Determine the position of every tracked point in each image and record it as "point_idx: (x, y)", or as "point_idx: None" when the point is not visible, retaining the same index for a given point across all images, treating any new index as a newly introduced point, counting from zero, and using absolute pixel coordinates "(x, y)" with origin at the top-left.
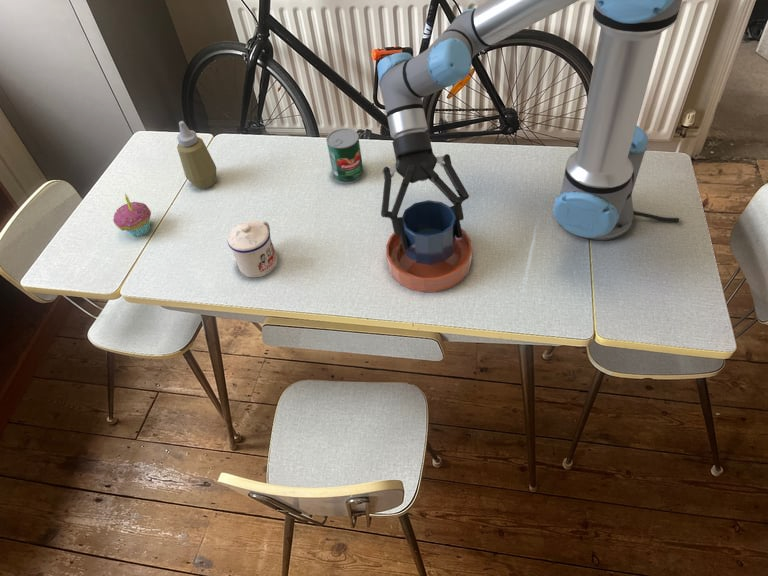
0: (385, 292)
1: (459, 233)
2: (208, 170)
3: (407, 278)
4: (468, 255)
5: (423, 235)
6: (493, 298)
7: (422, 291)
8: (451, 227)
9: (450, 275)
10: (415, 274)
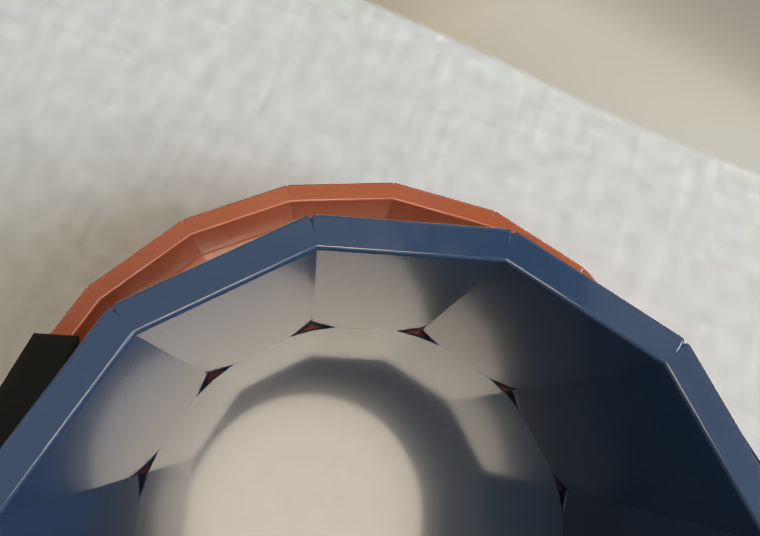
0: None
1: (50, 363)
2: None
3: None
4: (72, 329)
5: (570, 286)
6: (76, 79)
7: None
8: (131, 299)
9: (294, 186)
10: None
